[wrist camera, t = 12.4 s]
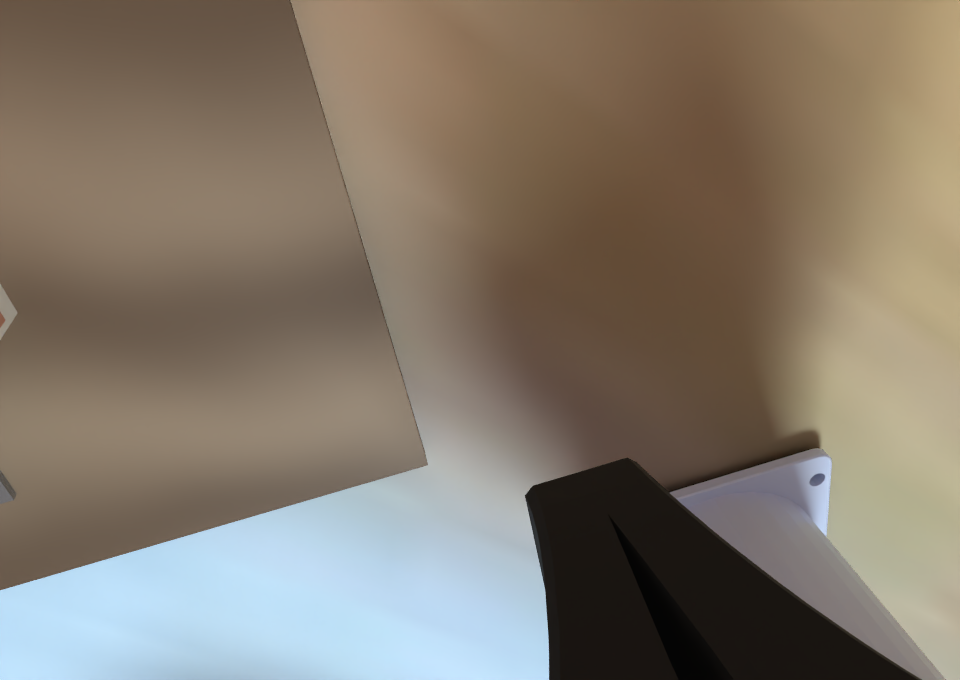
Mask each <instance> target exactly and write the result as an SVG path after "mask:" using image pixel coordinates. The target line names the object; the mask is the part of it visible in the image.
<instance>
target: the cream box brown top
mask: <svg viewBox="0 0 960 680" xmlns="http://www.w3.org/2000/svg"><path fill="white" fill-rule="evenodd" d="M16 315H17V311H16V309H15V308H14V306H13V304H12V303H11V301H10V299H9V298H8V296H7V294H6V292H5V291H4V289H3V287H2V286H1V284H0V340H1V338H2V337H3V335H4V333H5V332H6V330H7V329H8V327H9V326H10V324H11V323H12V321H13V320H14V318H15V316H16Z"/></svg>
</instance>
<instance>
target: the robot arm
mask: <svg viewBox="0 0 960 680" xmlns="http://www.w3.org/2000/svg"><path fill="white" fill-rule="evenodd" d="M831 469H832V460H831V457H830V456H829V455H828V454H827V453H826V452H825V451H824V450H823V449H819V448H816V449H810V450H807V451H804V452H800V453H797V454H794V455H791V456H787V457H784V458H781V459H777V460H774V461H771V462H768V463H764V464H761V465H758V466H754V467H751V468H748V469H745V470H741V471H738V472H735V473H731V474H728V475H725V476H721V477H718V478H715V479H712V480H708V481H705V482H702V483H698V484H695V485H692V486H689V487H685V488H682V489H679V490H675V491H672V492H668V491H667V490H666V489H664V488H663V487H662V486H661V485H660V484H659V483H658V482H657V481H656V480H655V479H654V478H652V477H651V476H650V475H649V474H648V473H647V472H646V471H645V470H644V469H643V468H642V467H641V466H640V465H639V464H638V463H637V462H635V461H633V460H631V459H629V458H625V459H621V460H618V461H615V462H611V463H608V464H605V465H601V466H598V467H595V468H591V469H588V470H585V471H581V472H578V473H574V474H571V475H568V476H564V477H561V478H558V479H554V480H551V481H548V482H544V483H541V484H538V485H534V486H532V487H531V489H530V490H529V491H528V493H527V494H526V495H525V498H526V502H527V507H528V511H529V516H530V521H531V525H532V530H533V535H534V539H535V544H536V549H537V553H538V558H539V562H540V567H541V572H542V576H543V581H544V586H545V591H546V605H547V620H548V634H549V680H946V679H945V678H944V677H943V676H942V675H941V673H940V672H939V671H938V670H937V669H936V667H935V666H934V665H933V664H932V663H931V661H930V660H929V659H928V658H927V657H926V655H925V654H924V653H923V652H922V651H921V649H920V648H919V647H918V646H917V645H916V643H915V642H914V641H913V640H912V639H911V638H910V636H909V635H908V634H907V633H906V632H905V630H904V629H903V628H902V627H901V626H900V624H899V623H898V622H897V621H896V620H895V618H894V617H893V616H892V615H891V614H890V612H889V611H888V610H887V609H886V608H885V606H884V605H883V604H882V603H881V602H880V601H879V599H878V598H877V597H876V596H875V595H874V593H873V592H872V591H871V590H870V589H869V587H868V586H867V585H866V584H865V583H864V581H863V580H862V579H861V578H860V577H859V575H858V574H857V573H856V572H855V571H854V569H853V568H852V567H851V566H850V565H849V564H848V562H847V561H846V560H845V559H844V558H843V556H842V555H841V554H840V553H839V552H838V550H837V549H836V548H835V547H834V546H833V544H832V543H831V542H830V541H829V540H828V538H827V537H826V536H827V522H828V509H829V496H830V482H831Z"/></svg>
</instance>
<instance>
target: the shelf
mask: <svg viewBox="0 0 960 680" xmlns="http://www.w3.org/2000/svg"><path fill="white" fill-rule="evenodd" d="M0 284H1V286H2V287H3V289H4V291H5V292H6V294H7V296H8V298H9V299H10V301H11V303H12V304H13V306H14V308H15V309H16V311H17V315H16V316H15V318H14V320H13V321H12V323H11V324H10V326H9V327H8V329H7V330H6V332H5V333H4V335H3V337H2V338H1V340H0V470H1V471H2V473H3V474H4V476H5V477H6V479H7V480H8V481H9V483H10V484H11V486H12V487H13V489H14V490H15V492H16V493H17V494H16V497H15V499H14V500H13V501H9V502H6V503H2V504H0V590H3V589H6V588H9V587H13V586H16V585H20V584H23V583H26V582H30V581H33V580H37V579H40V578H44V577H47V576H50V575H54V574H57V573H61V572H64V571H67V570H71V569H74V568H78V567H81V566H85V565H88V564H91V563H95V562H98V561H102V560H105V559H108V558H112V557H115V556H119V555H122V554H126V553H129V552H132V551H136V550H139V549H143V548H146V547H149V546H153V545H156V544H160V543H163V542H167V541H170V540H173V539H177V538H180V537H184V536H187V535H190V534H194V533H197V532H201V531H204V530H208V529H211V528H214V527H218V526H221V525H225V524H228V523H231V522H235V521H238V520H242V519H245V518H249V517H252V516H255V515H259V514H262V513H266V512H269V511H272V510H276V509H279V508H283V507H286V506H289V505H293V504H296V503H300V502H303V501H307V500H310V499H313V498H317V497H320V496H324V495H327V494H330V493H334V492H337V491H341V490H344V489H348V488H351V487H354V486H358V485H361V484H365V483H368V482H371V481H375V480H378V479H382V478H385V477H389V476H392V475H395V474H399V473H402V472H406V471H409V470H412V469H416V468H419V467H423V466H426V465H428V463H427V459H426V455H425V451H424V448H423V444H422V441H421V438H420V434H419V431H418V428H417V424H416V421H415V418H414V414H413V411H412V408H411V404H410V401H409V397H408V394H407V391H406V387H405V384H404V381H403V377H402V374H401V371H400V367H399V364H398V361H397V357H396V354H395V351H394V347H393V344H392V341H391V337H390V334H389V330H388V327H387V324H386V320H385V317H384V314H383V310H382V307H381V304H380V300H379V297H378V294H377V290H376V287H375V284H374V280H373V277H372V273H371V270H370V267H369V263H368V260H367V257H366V253H365V250H364V247H363V243H362V240H361V237H360V233H359V230H358V227H357V223H356V220H355V216H354V213H353V210H352V206H351V203H350V200H349V196H348V193H347V190H346V186H345V183H344V180H343V176H342V173H341V170H340V166H339V163H338V160H337V156H336V153H335V149H334V146H333V143H332V139H331V136H330V133H329V129H328V126H327V123H326V119H325V116H324V113H323V109H322V106H321V103H320V99H319V96H318V92H317V89H316V86H315V82H314V79H313V76H312V72H311V69H310V66H309V62H308V59H307V56H306V52H305V49H304V46H303V42H302V39H301V35H300V32H299V29H298V25H297V22H296V19H295V15H294V12H293V9H292V5H291V2H290V0H0Z"/></svg>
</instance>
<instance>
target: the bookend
mask: <svg viewBox="0 0 960 680" xmlns="http://www.w3.org/2000/svg"><path fill="white" fill-rule="evenodd" d="M16 494H17V493H16V492H15V490H14V489H13V487H12V486H11V484H10V483H9V481H8V480H7V479H6V477H5V476H4V474H3V473H2V471H1V470H0V504H2V503H6V502H9V501H13V500H14V499H15V497H16Z"/></svg>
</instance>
